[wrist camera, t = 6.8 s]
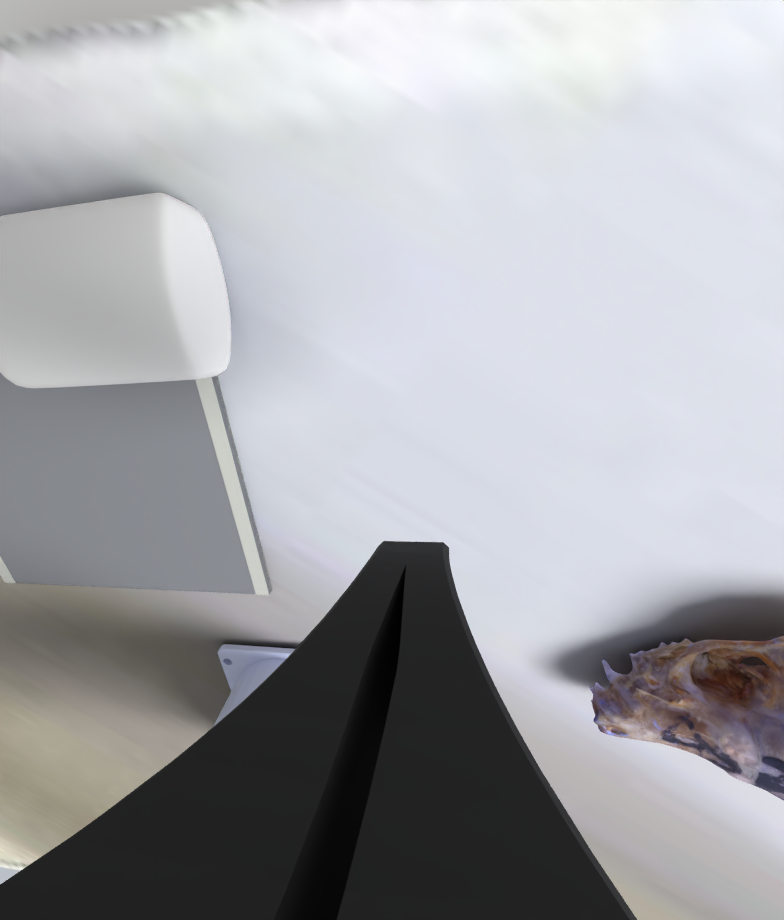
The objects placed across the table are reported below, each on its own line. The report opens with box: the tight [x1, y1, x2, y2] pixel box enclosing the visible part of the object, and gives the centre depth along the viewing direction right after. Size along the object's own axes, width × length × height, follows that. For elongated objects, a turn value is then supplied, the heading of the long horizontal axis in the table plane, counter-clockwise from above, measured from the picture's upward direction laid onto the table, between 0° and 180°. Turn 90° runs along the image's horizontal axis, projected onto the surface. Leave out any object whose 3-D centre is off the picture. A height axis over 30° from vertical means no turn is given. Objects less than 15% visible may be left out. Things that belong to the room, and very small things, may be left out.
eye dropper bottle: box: [0, 193, 231, 388], centre depth 15 cm, size 4×6×12 cm
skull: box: [590, 636, 784, 800], centre depth 18 cm, size 12×8×6 cm, turn 99°
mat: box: [0, 373, 272, 595], centre depth 21 cm, size 13×16×1 cm
